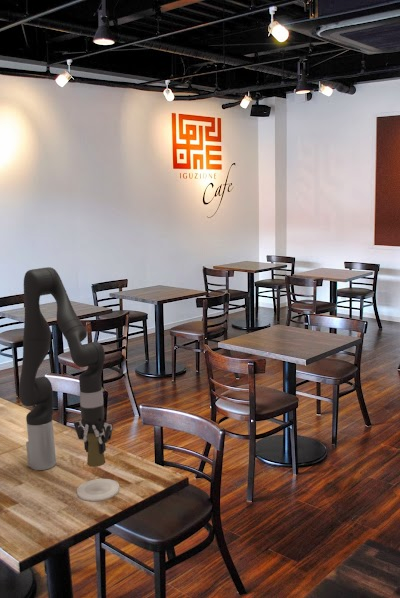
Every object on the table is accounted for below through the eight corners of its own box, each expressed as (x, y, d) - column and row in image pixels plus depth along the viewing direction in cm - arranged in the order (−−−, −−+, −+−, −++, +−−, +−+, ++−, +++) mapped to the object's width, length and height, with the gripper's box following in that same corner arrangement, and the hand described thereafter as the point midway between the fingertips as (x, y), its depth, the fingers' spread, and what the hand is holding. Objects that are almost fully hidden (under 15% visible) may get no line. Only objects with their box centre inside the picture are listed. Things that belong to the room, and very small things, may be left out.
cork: (101, 467, 201) (99, 435, 199) (84, 466, 202) (81, 434, 200) (108, 459, 207) (105, 428, 205) (91, 458, 208) (88, 427, 206)
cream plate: (69, 498, 202) (68, 495, 202) (90, 479, 215) (90, 476, 215) (106, 504, 197) (106, 501, 197) (126, 484, 210) (126, 481, 210)
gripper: (66, 405, 200) (70, 454, 203) (105, 408, 195) (109, 459, 198) (79, 397, 207) (82, 445, 210) (116, 401, 202) (119, 450, 205)
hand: (95, 452), depth 204 cm, fingers closed on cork, 4 cm apart
